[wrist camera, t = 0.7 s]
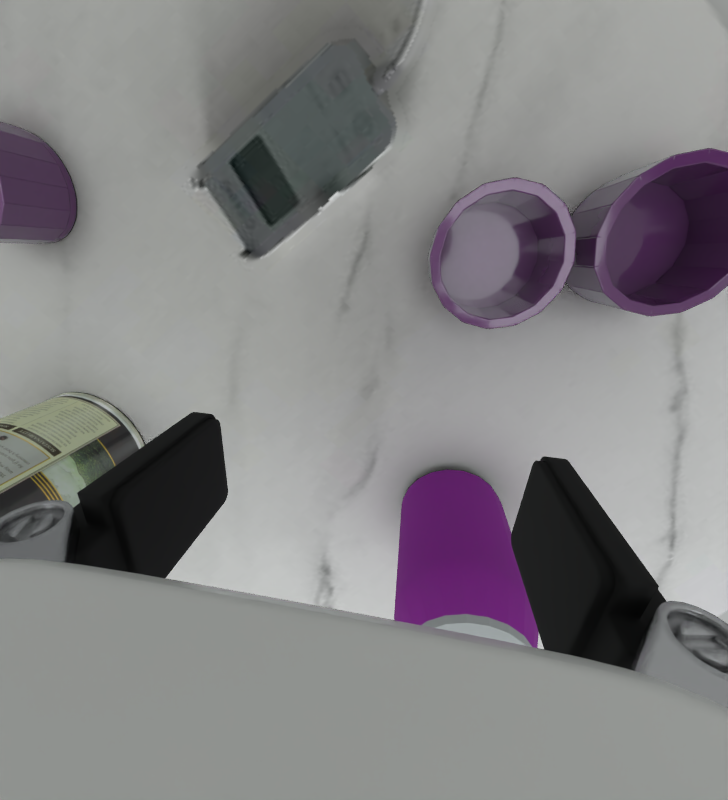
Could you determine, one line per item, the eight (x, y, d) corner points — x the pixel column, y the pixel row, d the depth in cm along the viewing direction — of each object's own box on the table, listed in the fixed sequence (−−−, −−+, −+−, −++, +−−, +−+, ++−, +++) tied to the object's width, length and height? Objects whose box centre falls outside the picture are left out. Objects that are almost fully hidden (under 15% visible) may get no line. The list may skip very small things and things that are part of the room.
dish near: (633, 143, 18) (699, 109, 13) (720, 227, 18) (807, 219, 14) (533, 256, 20) (562, 257, 16) (613, 325, 21) (661, 342, 17)
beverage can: (519, 510, 27) (588, 684, 16) (442, 553, 30) (456, 726, 19) (457, 445, 26) (486, 587, 15) (382, 496, 28) (359, 647, 18)
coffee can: (172, 464, 30) (-8, 618, 18) (103, 506, 34) (-89, 660, 21) (85, 368, 28) (-202, 466, 15) (20, 423, 31) (-259, 542, 18)
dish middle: (481, 167, 19) (499, 143, 15) (569, 244, 20) (608, 242, 16) (406, 270, 21) (403, 274, 17) (486, 335, 22) (501, 353, 18)
